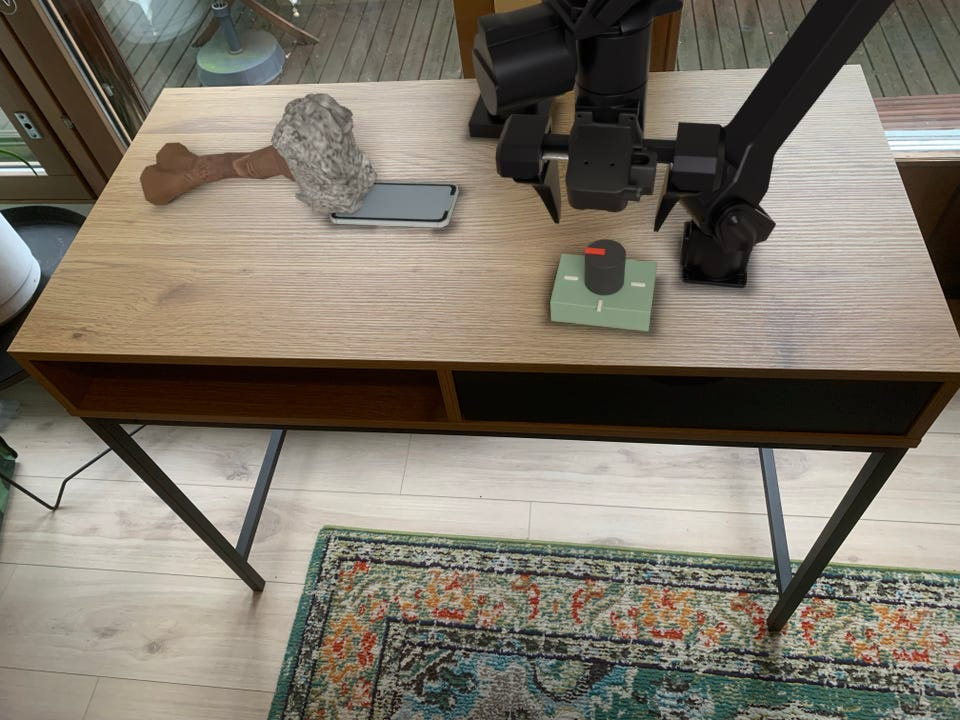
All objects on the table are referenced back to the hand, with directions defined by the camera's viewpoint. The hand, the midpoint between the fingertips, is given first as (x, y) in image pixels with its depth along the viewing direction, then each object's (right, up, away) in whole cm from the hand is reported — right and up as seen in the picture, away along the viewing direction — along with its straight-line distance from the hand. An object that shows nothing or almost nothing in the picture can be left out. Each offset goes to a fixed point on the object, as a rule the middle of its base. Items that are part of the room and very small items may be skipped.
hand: (606, 224), depth 70 cm
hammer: (-39, +8, +25) cm, 47 cm away
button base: (-7, +19, +29) cm, 36 cm away
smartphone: (-22, +6, +21) cm, 31 cm away
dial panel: (+1, -6, +8) cm, 11 cm away
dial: (+1, -5, +6) cm, 8 cm away
